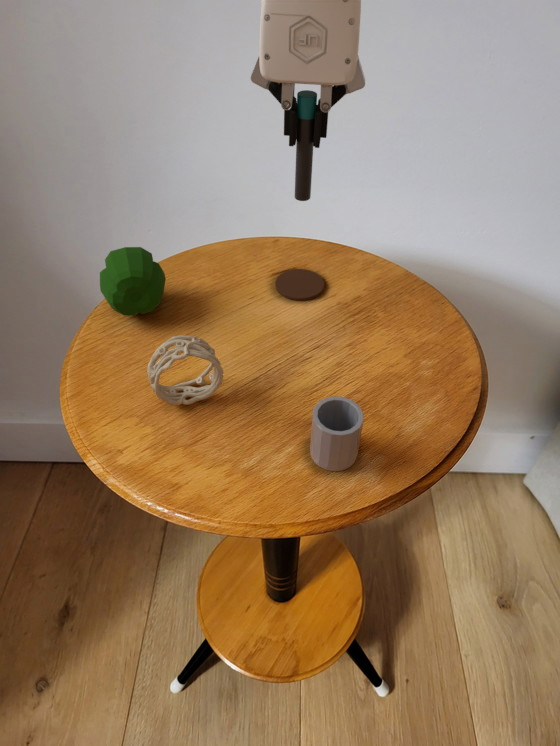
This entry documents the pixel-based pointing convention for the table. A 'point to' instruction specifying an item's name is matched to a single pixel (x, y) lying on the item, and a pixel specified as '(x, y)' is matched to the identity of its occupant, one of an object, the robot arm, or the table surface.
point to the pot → (336, 433)
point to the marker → (304, 143)
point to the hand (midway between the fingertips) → (305, 141)
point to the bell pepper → (132, 281)
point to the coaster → (299, 284)
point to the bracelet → (190, 349)
